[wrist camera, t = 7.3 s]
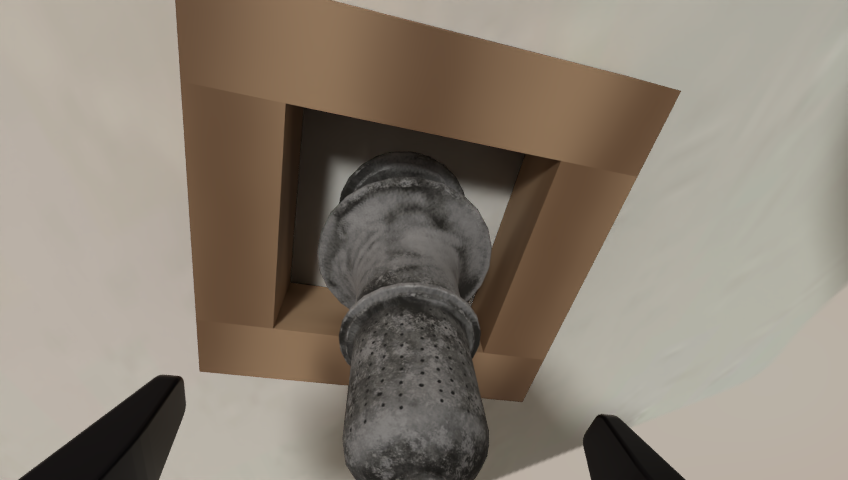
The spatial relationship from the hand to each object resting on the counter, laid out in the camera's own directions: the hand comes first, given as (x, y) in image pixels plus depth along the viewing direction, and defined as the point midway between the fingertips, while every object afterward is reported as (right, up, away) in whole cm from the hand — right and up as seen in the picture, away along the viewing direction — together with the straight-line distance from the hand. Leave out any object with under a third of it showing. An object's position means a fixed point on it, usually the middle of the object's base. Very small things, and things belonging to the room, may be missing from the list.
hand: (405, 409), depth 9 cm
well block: (-1, +5, +8) cm, 9 cm away
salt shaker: (0, +5, +8) cm, 10 cm away
